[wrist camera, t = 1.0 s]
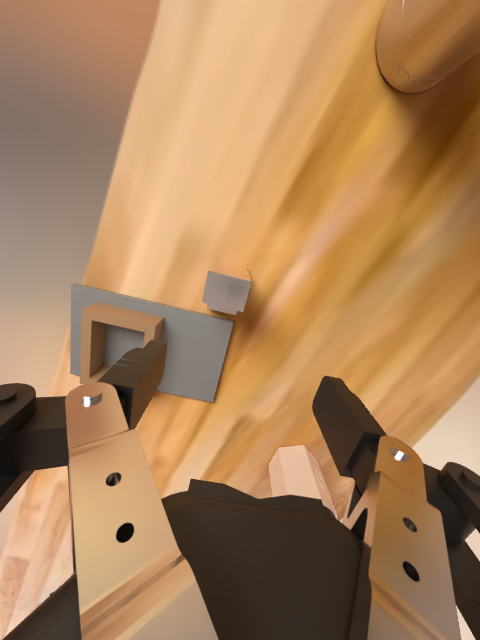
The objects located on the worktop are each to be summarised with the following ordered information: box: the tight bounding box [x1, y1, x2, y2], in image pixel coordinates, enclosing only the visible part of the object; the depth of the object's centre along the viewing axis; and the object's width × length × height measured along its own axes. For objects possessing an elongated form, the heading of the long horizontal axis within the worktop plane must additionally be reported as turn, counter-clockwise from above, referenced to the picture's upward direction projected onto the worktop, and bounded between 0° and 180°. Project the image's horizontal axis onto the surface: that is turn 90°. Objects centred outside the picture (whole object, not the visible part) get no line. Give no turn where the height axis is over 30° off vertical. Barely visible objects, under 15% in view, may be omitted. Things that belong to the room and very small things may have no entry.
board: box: [70, 283, 234, 403], centre depth 31 cm, size 14×22×4 cm, turn 76°
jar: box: [268, 445, 338, 519], centre depth 35 cm, size 9×8×12 cm
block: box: [202, 262, 252, 315], centre depth 26 cm, size 6×4×10 cm, turn 166°
